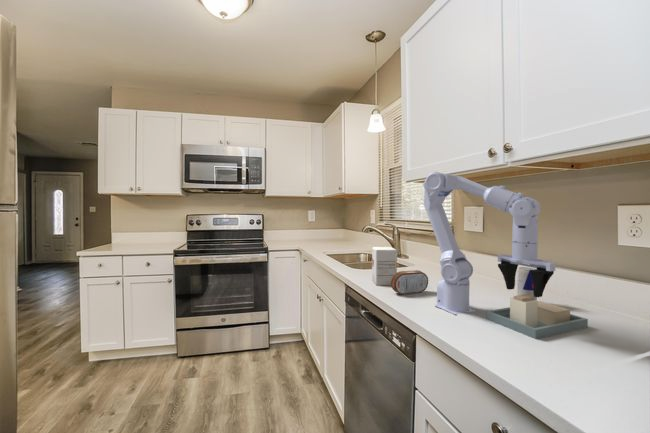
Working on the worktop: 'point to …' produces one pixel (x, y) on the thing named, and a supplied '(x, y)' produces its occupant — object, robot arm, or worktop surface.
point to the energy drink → (525, 282)
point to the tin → (409, 282)
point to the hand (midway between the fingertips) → (523, 292)
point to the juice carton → (524, 310)
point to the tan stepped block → (552, 313)
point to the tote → (542, 329)
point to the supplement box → (383, 265)
